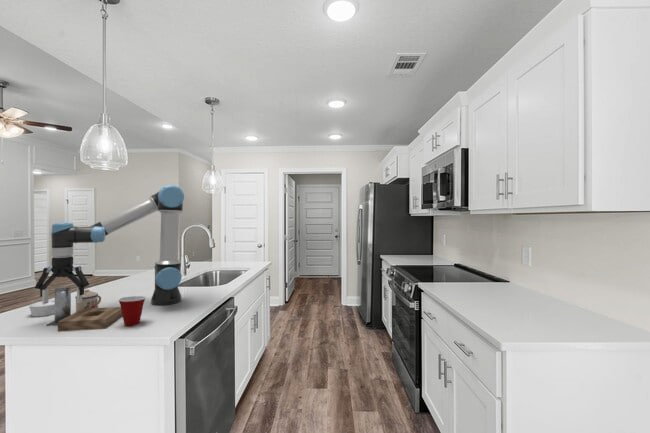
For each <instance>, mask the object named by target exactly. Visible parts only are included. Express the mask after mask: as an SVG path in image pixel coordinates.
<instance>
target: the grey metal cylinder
mask: <svg viewBox="0 0 650 433" xmlns="http://www.w3.org/2000/svg"><path fill="white" fill-rule="evenodd" d="M71 289H72V287H71V286H60V287H59V286H58V287H55V288H54V300H55V314H54V320H55V323H58V321H60V320H62V319H64V318H66V317H68V316H70V315H72V314H71V313H72V310H71V307H72V301H71V300H72V292H71V291H72V290H71Z"/></svg>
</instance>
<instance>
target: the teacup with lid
mask: <svg viewBox="0 0 650 433" xmlns="http://www.w3.org/2000/svg"><path fill="white" fill-rule="evenodd" d="M74 298H75V313H76V312H78V311H80V310H81V309H89V308H99V307H98V306H99V305H100V304H101V302H102V297H101V295H99V293H98V292H94V291H91V290H90V289H88V288H87V289H84V295H82V302H80V303H77V295H75V297H74Z"/></svg>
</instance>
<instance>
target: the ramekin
mask: <svg viewBox="0 0 650 433" xmlns="http://www.w3.org/2000/svg"><path fill="white" fill-rule="evenodd" d="M28 308H29V310H30V315H31V317H34V316H35V318H37V317H39V316H41V317H48V316H52V315H55V299H53V300H48V303H47V304H45V305H42V301H38V302H35V303H32V304H31V303H30V304H29V306H28ZM51 314H52V315H51ZM47 315H48V316H47ZM39 318H40V317H39Z"/></svg>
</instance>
